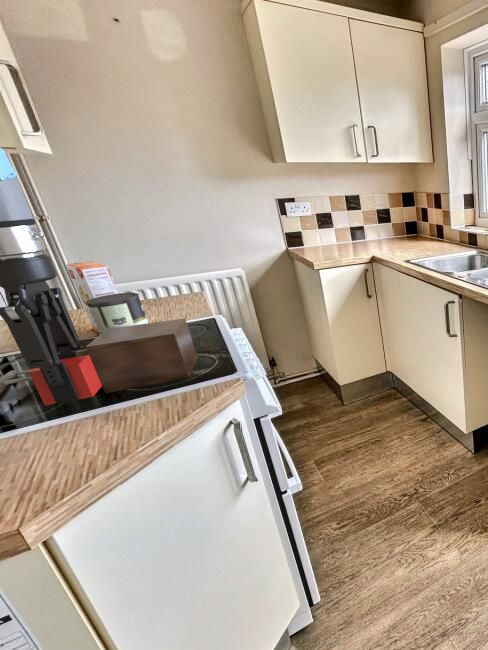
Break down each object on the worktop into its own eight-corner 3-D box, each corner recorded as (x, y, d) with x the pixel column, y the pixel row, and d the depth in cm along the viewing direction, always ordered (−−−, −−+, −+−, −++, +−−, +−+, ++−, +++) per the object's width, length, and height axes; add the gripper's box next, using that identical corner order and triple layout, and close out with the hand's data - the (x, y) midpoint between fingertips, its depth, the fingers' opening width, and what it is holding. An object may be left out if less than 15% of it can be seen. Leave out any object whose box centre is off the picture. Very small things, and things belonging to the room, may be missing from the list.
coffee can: (143, 339, 120) (125, 291, 114) (164, 344, 115) (146, 294, 110) (98, 352, 111) (76, 300, 106) (119, 358, 107) (97, 304, 102)
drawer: (-6, 408, 81) (-28, 367, 78) (24, 385, 91) (5, 348, 88) (135, 382, 91) (120, 345, 87) (149, 364, 100) (136, 329, 97)
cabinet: (105, 393, 88) (85, 346, 84) (123, 371, 99) (106, 329, 95) (189, 377, 94) (174, 333, 91) (198, 358, 105) (185, 318, 101)
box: (44, 405, 68) (28, 372, 66) (56, 393, 72) (41, 362, 70) (93, 396, 71) (79, 364, 69) (102, 385, 75) (89, 354, 72)
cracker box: (93, 334, 125) (64, 264, 118) (119, 328, 130) (92, 260, 122) (108, 342, 118) (78, 268, 110) (135, 335, 123) (108, 264, 115)
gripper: (17, 262, 57) (84, 411, 66) (69, 246, 72) (119, 369, 80) (-64, 268, 54) (17, 424, 63) (8, 250, 69) (66, 378, 77)
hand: (74, 393), depth 71 cm, fingers closed on box, 4 cm apart
